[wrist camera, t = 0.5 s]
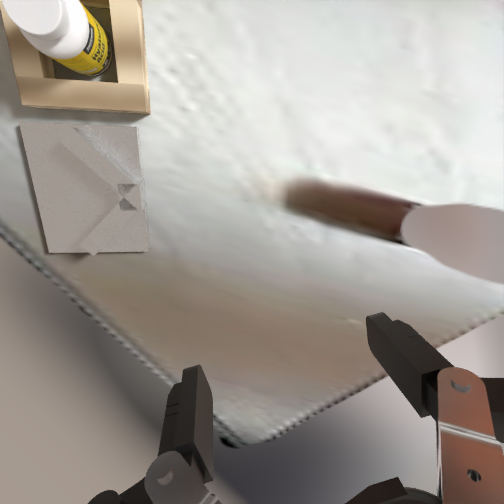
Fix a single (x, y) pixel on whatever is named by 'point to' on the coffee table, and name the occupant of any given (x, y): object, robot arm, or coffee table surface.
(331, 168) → the coffee table surface
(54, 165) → the v block
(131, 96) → the square frame block
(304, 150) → the coffee table surface
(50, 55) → the supplement bottle
